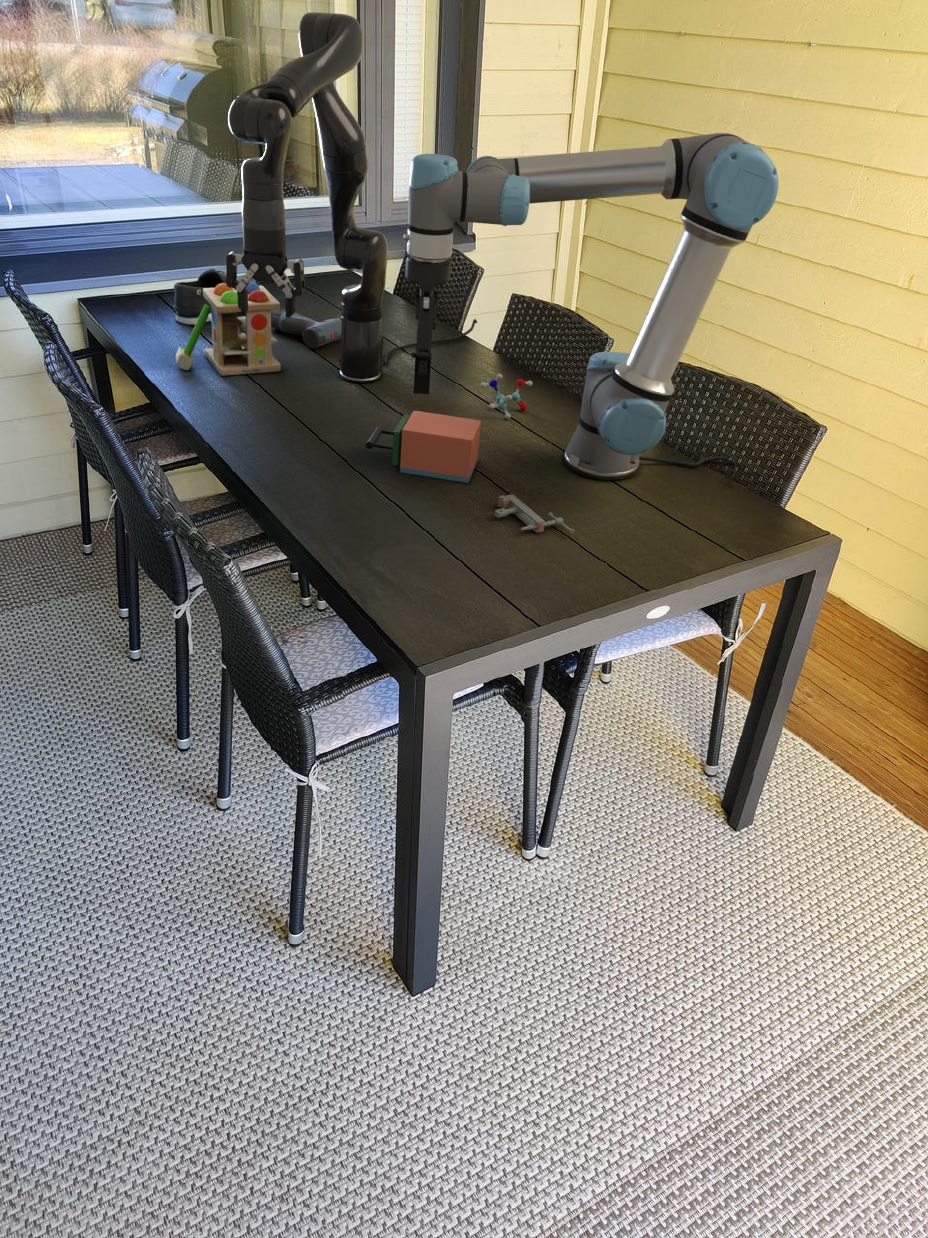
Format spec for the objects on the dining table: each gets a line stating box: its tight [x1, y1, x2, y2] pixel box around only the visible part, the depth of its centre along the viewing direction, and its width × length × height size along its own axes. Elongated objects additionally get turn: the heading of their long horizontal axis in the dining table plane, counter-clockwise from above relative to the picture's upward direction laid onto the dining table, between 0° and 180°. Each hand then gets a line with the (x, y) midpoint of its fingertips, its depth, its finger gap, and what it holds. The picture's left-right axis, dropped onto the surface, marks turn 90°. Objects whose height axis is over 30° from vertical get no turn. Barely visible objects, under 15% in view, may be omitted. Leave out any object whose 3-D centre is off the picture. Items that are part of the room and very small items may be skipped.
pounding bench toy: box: [174, 282, 282, 377], centre depth 225 cm, size 23×14×18 cm, turn 116°
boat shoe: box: [173, 268, 262, 325], centre depth 261 cm, size 13×33×10 cm, turn 147°
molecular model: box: [480, 373, 533, 420], centre depth 219 cm, size 12×10×10 cm
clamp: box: [494, 494, 575, 535], centre depth 178 cm, size 15×2×10 cm
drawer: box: [365, 414, 411, 467], centre depth 193 cm, size 18×9×7 cm, turn 80°
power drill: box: [271, 308, 341, 349], centre depth 252 cm, size 5×19×20 cm
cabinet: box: [399, 410, 482, 484], centre depth 192 cm, size 14×10×9 cm
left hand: (266, 313), depth 184 cm, fingers open, 8 cm apart
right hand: (422, 379), depth 176 cm, fingers open, 13 cm apart
